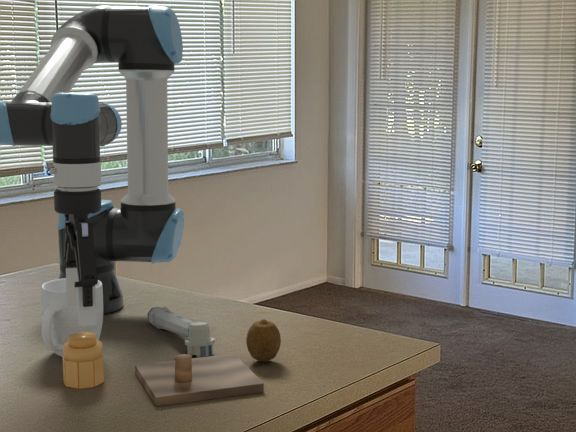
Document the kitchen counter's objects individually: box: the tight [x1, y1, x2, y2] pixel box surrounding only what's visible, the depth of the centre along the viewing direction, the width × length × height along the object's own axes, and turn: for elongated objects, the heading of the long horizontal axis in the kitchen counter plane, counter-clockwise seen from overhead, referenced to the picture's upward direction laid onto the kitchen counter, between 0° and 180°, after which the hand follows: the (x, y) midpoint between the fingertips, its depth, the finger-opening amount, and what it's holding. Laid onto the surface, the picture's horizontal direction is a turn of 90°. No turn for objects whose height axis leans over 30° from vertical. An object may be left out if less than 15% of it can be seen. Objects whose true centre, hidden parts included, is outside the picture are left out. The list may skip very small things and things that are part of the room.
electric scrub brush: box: [147, 306, 215, 358], centre depth 173 cm, size 5×7×25 cm
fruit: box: [245, 318, 282, 364], centre depth 161 cm, size 6×6×8 cm
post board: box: [134, 353, 265, 407], centre depth 150 cm, size 16×18×6 cm
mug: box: [40, 278, 104, 358], centre depth 163 cm, size 15×11×13 cm
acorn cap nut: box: [62, 332, 105, 390], centre depth 150 cm, size 6×6×8 cm
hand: (80, 314), depth 148 cm, fingers open, 13 cm apart
